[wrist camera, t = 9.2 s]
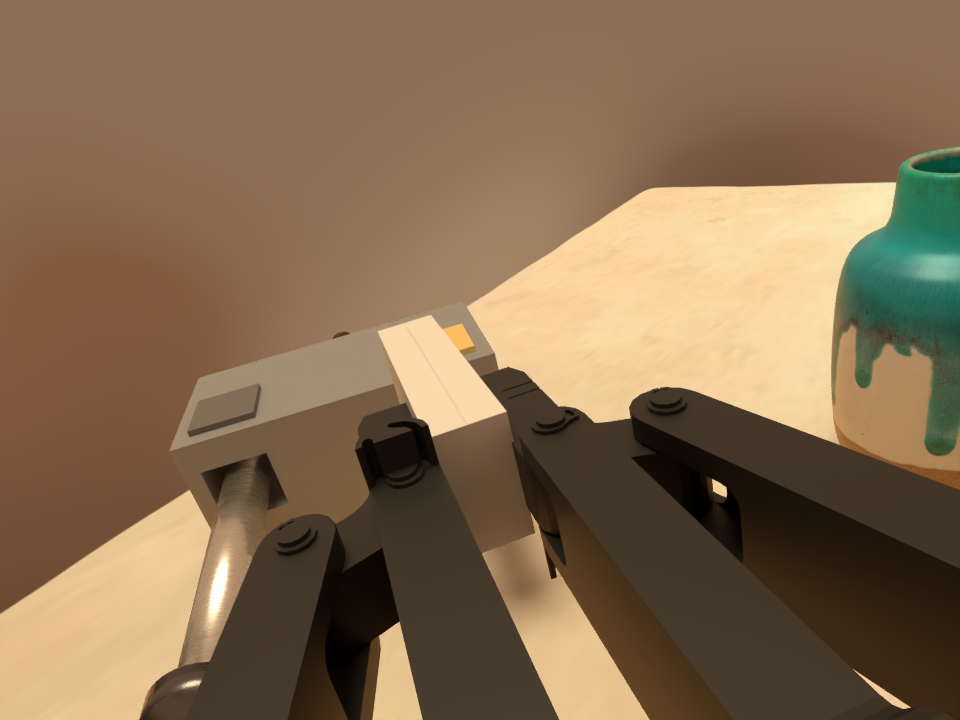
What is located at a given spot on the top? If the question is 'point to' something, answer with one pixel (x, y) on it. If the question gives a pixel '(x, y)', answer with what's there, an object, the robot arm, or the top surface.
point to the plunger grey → (216, 583)
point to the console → (303, 418)
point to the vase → (904, 328)
